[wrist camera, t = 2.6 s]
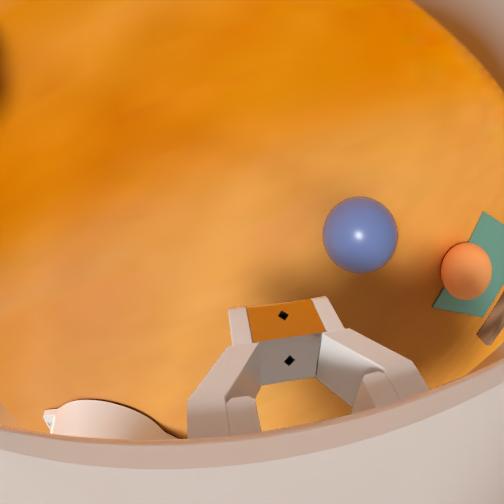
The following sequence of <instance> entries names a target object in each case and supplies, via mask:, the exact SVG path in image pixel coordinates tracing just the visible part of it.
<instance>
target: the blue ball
mask: <svg viewBox="0 0 504 504" xmlns="http://www.w3.org/2000/svg"><path fill="white" fill-rule="evenodd" d="M397 238H398V232H397V226H396V223H395V220H394V218H393V216H392V214H391V213H390V211H389V210H388V209H387V208H386V207H385V206H384V205H383V204H381V203H380V202H378V201H376V200H374V199H371V198H368V197H352V198H348V199H346V200H344V201H342V202H340V203H339V204H337V205H336V206H335V207H334V208H333V209H332V210H331V211H330V213H329V214H328V216H327V218H326V221H325V223H324V227H323V242H324V246H325V249H326V251H327V253H328V255H329V257H330V258H331V260H332V261H333V262H334V263H335V264H336V265H338V266H339V267H340V268H342V269H344V270H346V271H348V272H352V273H358V274H362V273H369V272H373V271H375V270H377V269H379V268H381V267H382V266H383V265H385V264H386V263H387V262H388V261H389V259H390V258H391V257H392V255H393V253H394V251H395V248H396V245H397Z"/></svg>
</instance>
